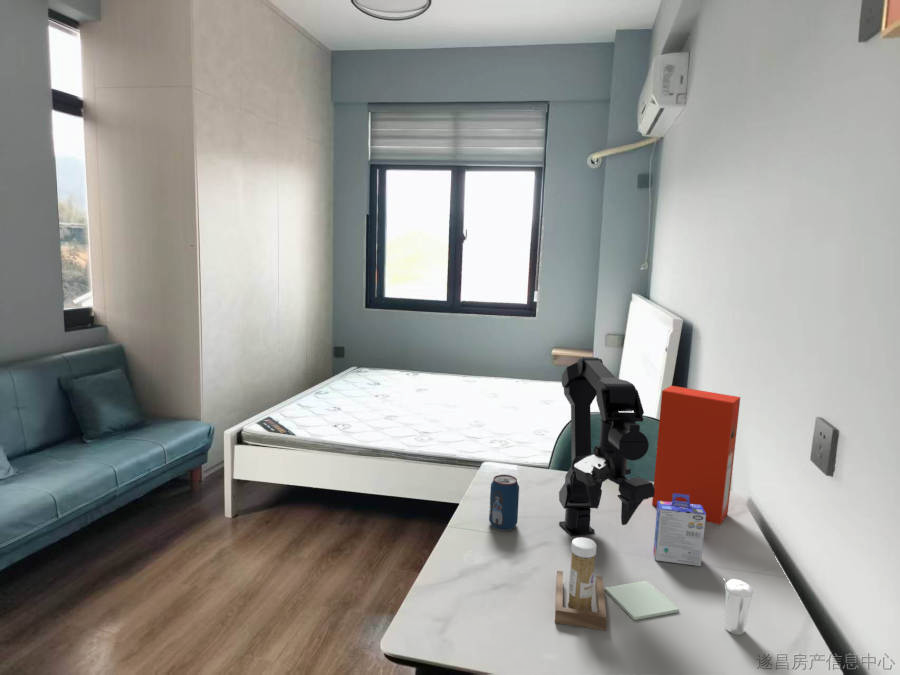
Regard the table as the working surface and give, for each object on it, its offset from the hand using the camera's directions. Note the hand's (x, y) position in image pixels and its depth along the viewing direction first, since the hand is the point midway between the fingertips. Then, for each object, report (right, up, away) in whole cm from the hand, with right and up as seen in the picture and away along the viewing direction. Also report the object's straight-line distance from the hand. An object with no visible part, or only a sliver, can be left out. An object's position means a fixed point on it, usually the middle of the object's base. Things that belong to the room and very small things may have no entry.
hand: (608, 515), depth 123 cm
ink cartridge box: (+18, -13, +9) cm, 24 cm away
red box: (+31, -9, +34) cm, 47 cm away
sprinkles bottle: (-8, -15, -10) cm, 20 cm away
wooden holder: (-8, -14, -9) cm, 19 cm away
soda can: (-20, -9, +22) cm, 31 cm away
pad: (+4, -15, -7) cm, 17 cm away
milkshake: (+18, -16, -15) cm, 29 cm away
